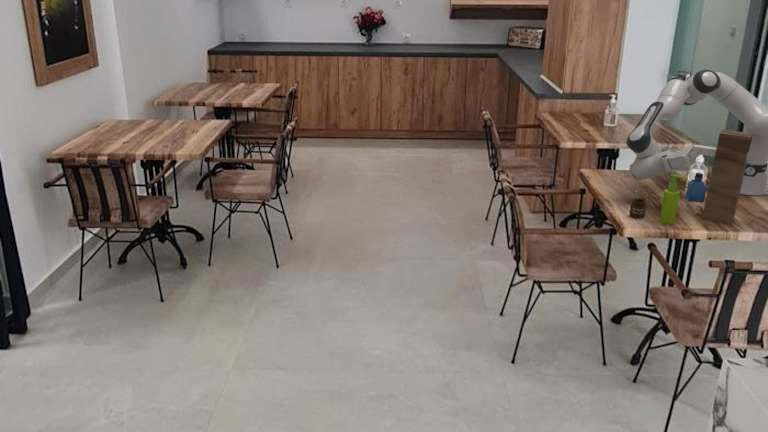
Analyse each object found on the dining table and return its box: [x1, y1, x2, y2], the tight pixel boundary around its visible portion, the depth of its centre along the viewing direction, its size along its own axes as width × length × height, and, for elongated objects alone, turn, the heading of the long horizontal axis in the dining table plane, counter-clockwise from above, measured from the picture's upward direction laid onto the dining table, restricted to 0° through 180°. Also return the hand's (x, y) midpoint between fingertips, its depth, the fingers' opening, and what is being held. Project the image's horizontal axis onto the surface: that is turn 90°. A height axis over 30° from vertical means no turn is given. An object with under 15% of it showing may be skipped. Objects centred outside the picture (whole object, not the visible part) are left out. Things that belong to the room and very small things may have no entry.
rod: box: [693, 144, 748, 160], centre depth 264 cm, size 3×20×3 cm, turn 57°
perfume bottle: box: [685, 172, 707, 203], centre depth 291 cm, size 6×6×12 cm
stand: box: [701, 129, 753, 226], centre depth 265 cm, size 9×11×36 cm
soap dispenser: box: [658, 173, 687, 225], centre depth 264 cm, size 6×7×20 cm
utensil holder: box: [629, 189, 651, 220], centre depth 270 cm, size 6×6×12 cm
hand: (703, 149), depth 267 cm, fingers open, 7 cm apart
